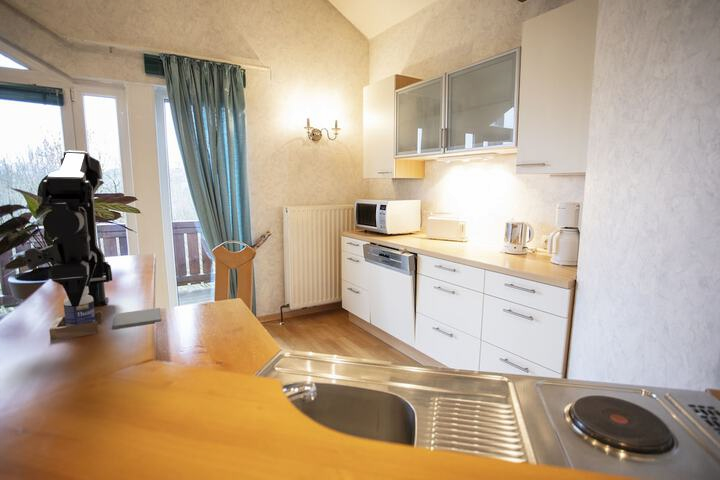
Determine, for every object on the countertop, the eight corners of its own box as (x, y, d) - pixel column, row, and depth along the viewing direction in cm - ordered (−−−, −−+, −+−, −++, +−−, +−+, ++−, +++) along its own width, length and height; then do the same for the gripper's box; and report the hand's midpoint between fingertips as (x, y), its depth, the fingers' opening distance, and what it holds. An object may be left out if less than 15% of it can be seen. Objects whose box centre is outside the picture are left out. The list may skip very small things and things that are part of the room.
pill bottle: (80, 334, 80) (75, 291, 79) (60, 332, 81) (55, 290, 80) (101, 326, 86) (98, 285, 84) (82, 324, 87) (79, 284, 85)
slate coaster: (115, 316, 92) (115, 313, 92) (160, 309, 97) (159, 307, 97) (112, 328, 84) (111, 326, 84) (161, 321, 89) (161, 318, 89)
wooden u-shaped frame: (59, 326, 85) (58, 316, 85) (102, 320, 89) (101, 311, 89) (50, 340, 77) (49, 329, 77) (97, 333, 81) (96, 322, 81)
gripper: (35, 230, 85) (42, 295, 87) (9, 239, 69) (19, 319, 71) (94, 228, 90) (99, 289, 92) (83, 236, 74) (90, 310, 76)
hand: (78, 300), depth 83 cm, fingers open, 9 cm apart
